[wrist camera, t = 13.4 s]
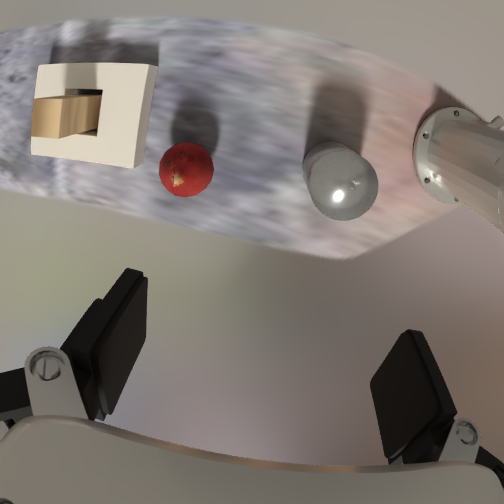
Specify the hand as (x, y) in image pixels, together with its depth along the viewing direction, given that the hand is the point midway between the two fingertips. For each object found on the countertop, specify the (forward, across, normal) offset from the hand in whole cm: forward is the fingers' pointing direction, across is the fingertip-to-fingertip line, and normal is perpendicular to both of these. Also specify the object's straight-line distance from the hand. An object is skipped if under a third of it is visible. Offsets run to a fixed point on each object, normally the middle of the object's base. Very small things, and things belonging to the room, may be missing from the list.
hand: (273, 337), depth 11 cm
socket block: (+28, +24, -3) cm, 37 cm away
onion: (+28, +9, +2) cm, 30 cm away
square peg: (+28, +24, -3) cm, 37 cm away
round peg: (+28, -6, -1) cm, 29 cm away
